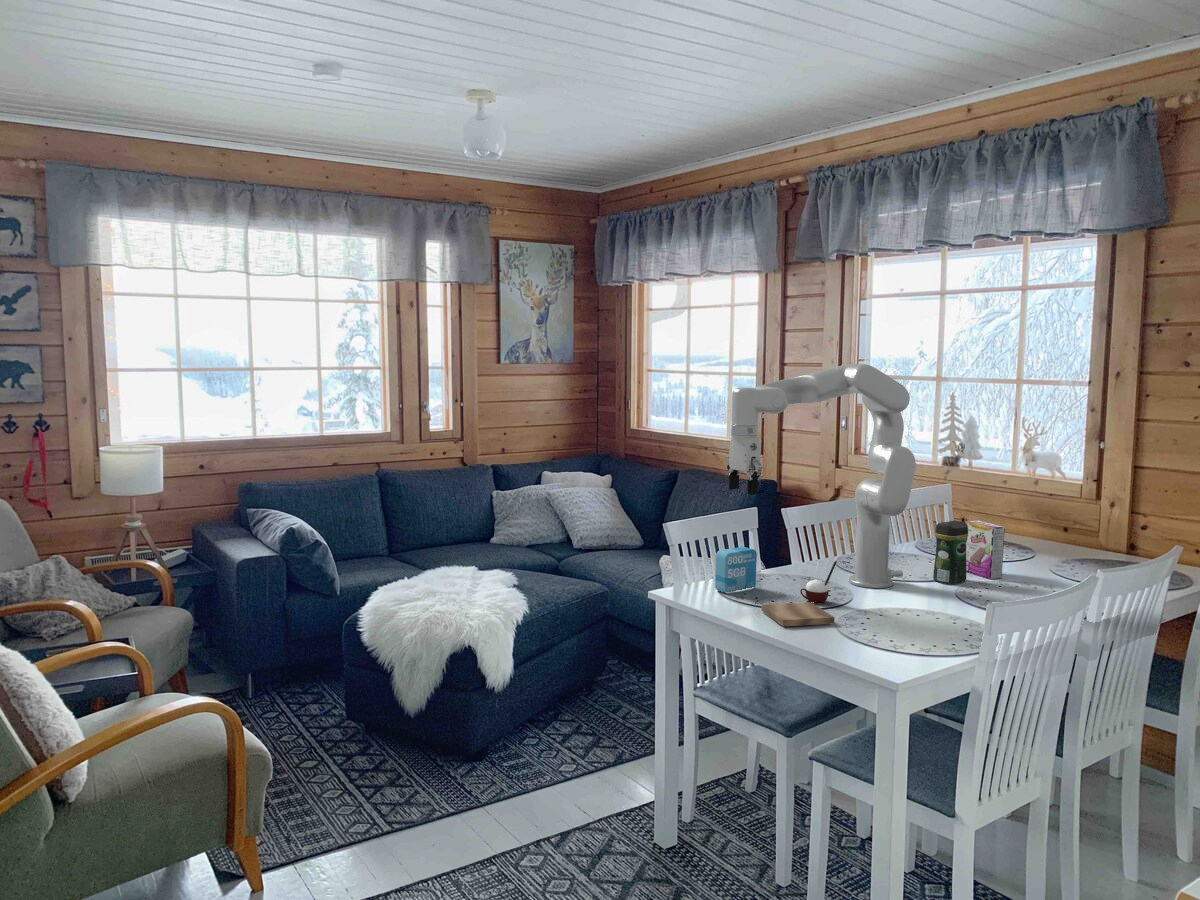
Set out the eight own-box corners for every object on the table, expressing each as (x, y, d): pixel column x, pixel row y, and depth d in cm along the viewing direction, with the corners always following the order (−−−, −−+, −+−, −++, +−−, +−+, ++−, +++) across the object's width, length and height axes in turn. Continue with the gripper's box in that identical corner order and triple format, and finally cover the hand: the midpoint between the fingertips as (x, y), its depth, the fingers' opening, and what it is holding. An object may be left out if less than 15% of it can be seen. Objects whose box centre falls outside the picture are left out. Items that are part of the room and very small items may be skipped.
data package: (724, 595, 256) (725, 553, 255) (714, 591, 260) (715, 550, 259) (756, 589, 263) (757, 548, 262) (745, 585, 267) (746, 545, 265)
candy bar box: (963, 571, 286) (965, 520, 285) (975, 570, 288) (978, 519, 286) (990, 580, 276) (993, 527, 274) (1002, 578, 278) (1005, 526, 276)
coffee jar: (947, 576, 280) (950, 517, 278) (970, 582, 273) (973, 521, 271) (927, 580, 275) (931, 520, 273) (950, 586, 268) (953, 525, 266)
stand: (810, 609, 243) (810, 602, 243) (834, 624, 229) (834, 617, 229) (761, 612, 240) (761, 604, 240) (782, 628, 226) (783, 620, 226)
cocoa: (797, 602, 251) (796, 560, 250) (810, 597, 255) (809, 555, 254) (827, 608, 244) (826, 564, 243) (839, 603, 248) (839, 560, 247)
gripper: (773, 433, 248) (771, 495, 250) (739, 428, 264) (737, 486, 266) (749, 434, 245) (748, 496, 247) (717, 429, 261) (715, 487, 263)
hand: (742, 491), depth 256 cm, fingers open, 9 cm apart
